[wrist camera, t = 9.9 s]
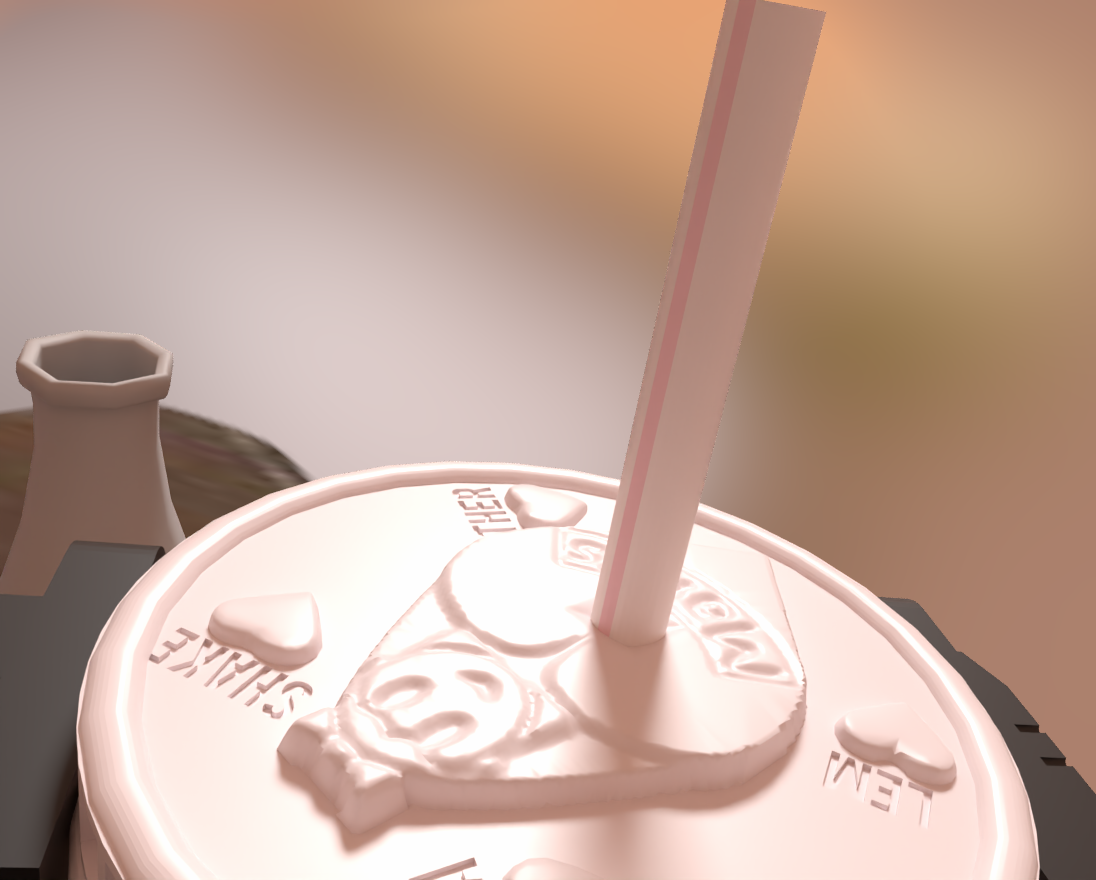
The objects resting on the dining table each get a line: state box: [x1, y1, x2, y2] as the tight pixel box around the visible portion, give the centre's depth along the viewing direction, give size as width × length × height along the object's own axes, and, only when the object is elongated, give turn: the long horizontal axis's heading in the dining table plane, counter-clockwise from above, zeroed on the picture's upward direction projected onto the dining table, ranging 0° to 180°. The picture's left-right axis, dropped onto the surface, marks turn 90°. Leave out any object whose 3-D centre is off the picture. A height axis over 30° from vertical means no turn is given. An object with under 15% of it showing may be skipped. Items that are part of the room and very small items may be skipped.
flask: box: [0, 330, 186, 596], centre depth 25 cm, size 7×7×10 cm
